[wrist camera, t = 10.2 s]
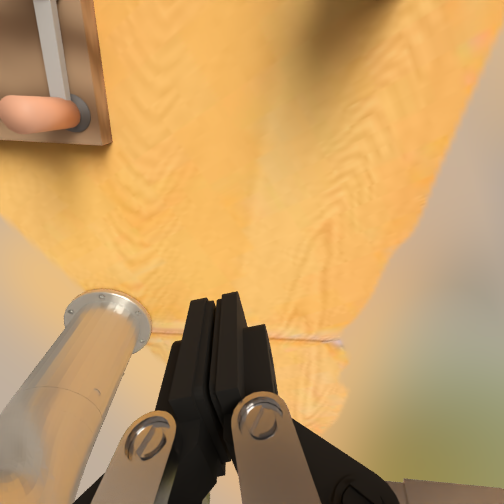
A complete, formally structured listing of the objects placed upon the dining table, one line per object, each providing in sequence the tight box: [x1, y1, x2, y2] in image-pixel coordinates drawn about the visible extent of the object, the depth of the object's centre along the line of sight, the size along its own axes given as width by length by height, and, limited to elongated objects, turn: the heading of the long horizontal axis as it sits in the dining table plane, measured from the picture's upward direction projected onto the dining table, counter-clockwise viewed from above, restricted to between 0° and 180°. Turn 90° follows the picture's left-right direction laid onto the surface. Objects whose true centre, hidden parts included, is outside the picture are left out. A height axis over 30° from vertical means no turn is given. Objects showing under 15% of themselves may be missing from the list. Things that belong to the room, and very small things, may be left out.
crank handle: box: [0, 0, 81, 134], centre depth 25 cm, size 12×3×8 cm, turn 174°
